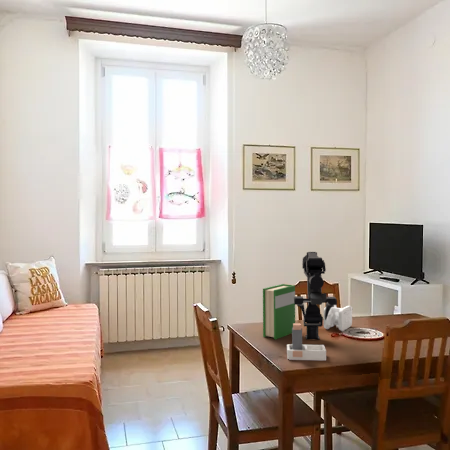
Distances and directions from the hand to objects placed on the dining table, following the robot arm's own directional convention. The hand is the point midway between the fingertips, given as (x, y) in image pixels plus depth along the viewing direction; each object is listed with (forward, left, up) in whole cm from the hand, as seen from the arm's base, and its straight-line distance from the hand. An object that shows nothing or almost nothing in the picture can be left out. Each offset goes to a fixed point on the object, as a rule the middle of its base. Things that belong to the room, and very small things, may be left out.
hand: (315, 319), depth 214 cm
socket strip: (+13, -5, -13) cm, 19 cm away
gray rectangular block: (+13, -9, -12) cm, 20 cm away
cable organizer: (-36, +15, -13) cm, 41 cm away
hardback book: (-22, -16, -13) cm, 30 cm away
